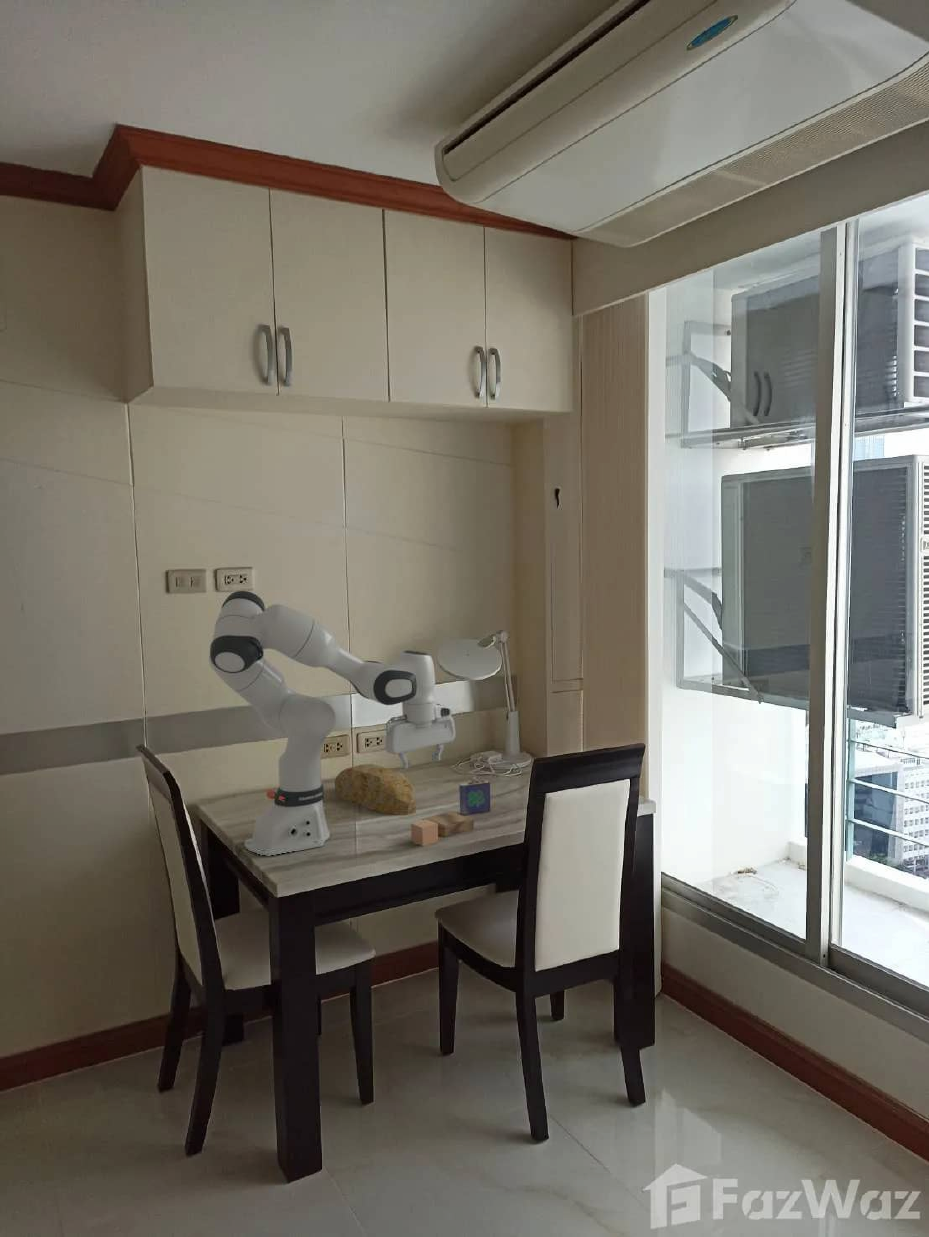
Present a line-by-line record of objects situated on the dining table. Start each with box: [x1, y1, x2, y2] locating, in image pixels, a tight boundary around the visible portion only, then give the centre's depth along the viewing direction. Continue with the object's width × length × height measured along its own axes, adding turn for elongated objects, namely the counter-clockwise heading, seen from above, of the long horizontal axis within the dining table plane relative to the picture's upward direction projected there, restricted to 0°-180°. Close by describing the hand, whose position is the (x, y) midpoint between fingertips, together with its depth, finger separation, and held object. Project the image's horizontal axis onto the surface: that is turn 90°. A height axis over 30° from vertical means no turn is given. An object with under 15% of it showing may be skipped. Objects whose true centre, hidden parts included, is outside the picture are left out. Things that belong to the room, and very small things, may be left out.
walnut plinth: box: [421, 810, 475, 838], centre depth 253 cm, size 10×10×3 cm
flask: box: [458, 775, 491, 817], centre depth 265 cm, size 9×3×11 cm, turn 109°
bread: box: [334, 763, 417, 816], centre depth 279 cm, size 36×11×10 cm, turn 42°
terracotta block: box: [410, 818, 439, 847], centre depth 243 cm, size 5×5×5 cm
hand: (421, 764), depth 242 cm, fingers open, 8 cm apart
